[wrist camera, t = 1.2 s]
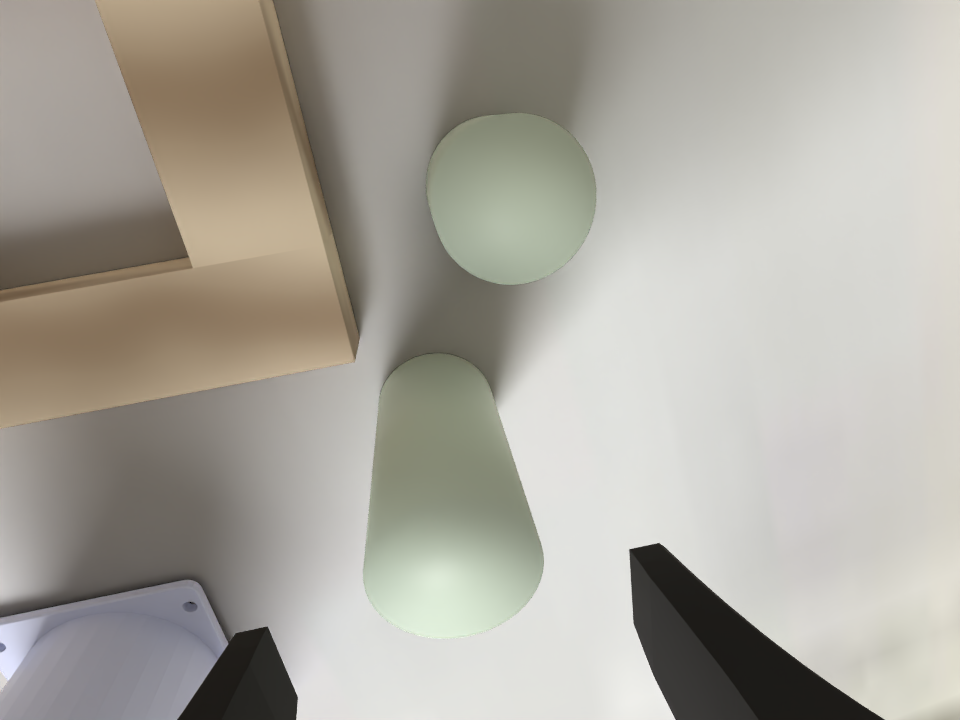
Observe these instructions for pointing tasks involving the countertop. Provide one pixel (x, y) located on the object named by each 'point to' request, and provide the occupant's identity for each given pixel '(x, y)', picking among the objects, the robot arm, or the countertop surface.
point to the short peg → (511, 196)
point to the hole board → (194, 232)
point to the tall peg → (446, 506)
